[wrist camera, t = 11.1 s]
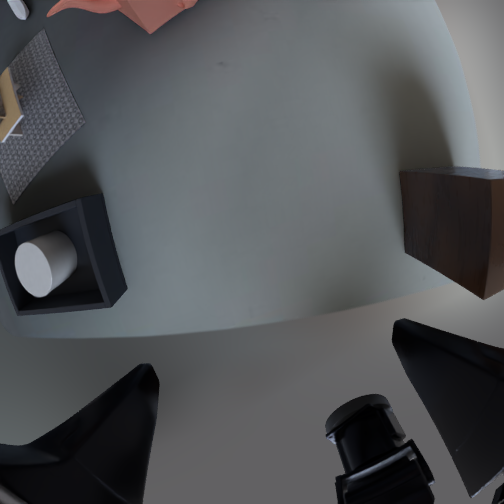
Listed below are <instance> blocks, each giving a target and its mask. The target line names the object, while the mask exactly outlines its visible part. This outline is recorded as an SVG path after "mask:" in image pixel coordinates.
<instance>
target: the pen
mask: <svg viewBox="0 0 504 504" xmlns="http://www.w3.org/2000/svg"><path fill="white" fill-rule="evenodd" d="M7 1H8V3H9V5H10V7H11V8H12V10H13V12H14V13H15V15H16V16H17V17H18V18H19V19H22V20H25V19H26V18H27V17H28V15H29V10H28V8H27V6H26V4H25V3H24V1H23V0H7Z"/></svg>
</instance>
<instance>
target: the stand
mask: <svg viewBox="0 0 504 504" xmlns="http://www.w3.org/2000/svg"><path fill="white" fill-rule="evenodd" d="M399 173H400V181H401V190H402V201H403V214H404V232H405V253H407V254H408V255H410V256H412V257H414V258H415V259H417V260H419V261H421V262H422V263H424V264H426V265H428V266H429V267H431V268H433V269H434V270H436V271H438V272H440V273H441V274H443V275H445V276H446V277H448V278H449V279H451V280H453V281H454V282H456V283H458V284H459V285H461V286H462V287H464V288H466V289H467V290H469V291H470V292H472V293H474V294H475V295H476V296H478V297H479V298H481V299H483V300H485V299H487V298H489V297H491V296H493V295H494V294H496V293H498V292H500V291H501V290H503V289H504V171H501V170H492V169H482V168H471V167H457V166H452V167H438V168H426V169H415V170H405V171H400V172H399Z"/></svg>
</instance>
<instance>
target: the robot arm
mask: <svg viewBox="0 0 504 504" xmlns="http://www.w3.org/2000/svg"><path fill="white" fill-rule="evenodd" d="M392 343H393V346H394V348H395V350H396V352H397V355H398V356H399V359H400V361H401V363H402V366H403V368H404V370H405V372H406V374H407V376H408V378H409V379H410V381H411V383H412V384H413V386H414V388H415V390H416V391H417V393H418V395H419V397H420V398H421V400H422V402H423V404H424V405H425V407H426V409H427V411H428V413H429V414H430V416H431V418H432V420H433V422H434V423H435V425H436V427H437V429H438V431H439V433H440V435H441V437H442V439H443V440H444V443H445V445H446V447H447V449H448V451H449V452H450V455H451V456H452V459H453V461H454V463H455V465H456V467H457V469H458V471H459V474H460V476H461V478H462V480H463V482H464V485H465V487H466V489H467V492H468V494H469V496H470V497H471V498H472V497H474V496H475V495H476V494H478V493H479V492H480V491H482V490H483V489H484V488H486V487H487V486H488V485H490V484H491V483H492V482H493V481H495V480H496V479H497V478H498V477H499V476H500V475H502V474H503V475H504V349H503V348H499V347H495V346H491V345H487V344H484V343H481V342H477V341H474V340H471V339H468V338H465V337H461V336H458V335H455V334H452V333H449V332H446V331H442V330H439V329H436V328H433V327H430V326H427V325H424V324H421V323H418V322H414V321H411V320H408V319H405V318H404V319H400V320H397V321H395V323H394V326H393V335H392ZM158 396H159V379H158V377H157V375H156V373H155V371H154V369H153V367H152V365H151V364H149V363H146V364H145V363H144V364H139V365H138V366H137V367H135V368H134V369H133V370H132V371H130V372H129V373H128V374H127V375H125V376H124V377H123V378H121V379H120V380H119V381H117V382H116V383H115V384H114V385H112V386H111V387H110V388H108V389H107V390H106V391H105V392H103V393H102V394H101V395H99V396H98V397H97V398H95V399H94V400H93V401H91V402H90V403H89V404H88V405H86V406H85V407H84V408H82V409H81V410H80V411H79V412H77V413H76V414H74V415H73V416H72V417H70V418H69V419H68V420H66V421H65V422H64V423H62V424H60V425H59V426H57V427H56V428H54V429H53V430H51V431H49V432H48V433H46V434H45V435H43V436H41V437H40V438H38V439H36V440H34V441H33V442H31V443H29V444H26V445H20V446H17V445H6V444H0V504H143V497H144V490H145V483H146V476H147V470H148V464H149V458H150V452H151V446H152V441H153V435H154V430H155V425H156V419H157V409H158V408H157V407H158ZM405 436H406V435H405V433H404V431H403V429H402V427H401V426H400V424H399V422H398V420H397V418H396V417H395V415H394V413H393V412H391V411H389V410H387V409H385V408H379V407H377V406H375V405H373V404H371V403H368V404H366V405H365V406H363V407H362V408H361V409H360V410H358V411H357V412H356V413H355V414H353V415H352V416H351V417H349V418H348V419H347V420H345V421H344V422H343V423H341V424H340V425H339V426H337V427H336V428H334V429H333V430H332V431H330V432H329V433H327V434H326V439H328V440H331V441H334V442H336V445H337V449H338V452H339V455H340V458H341V461H342V464H343V467H344V470H345V473H346V474H343V475H339V476H337V477H336V483H335V486H336V492H337V499H338V504H434V495H433V493H432V491H431V489H430V485H432V484H434V483H435V480H434V477H433V475H432V472H431V470H430V468H429V466H428V465H427V463H426V461H425V459H424V458H423V456H422V454H421V453H420V451H419V449H418V448H417V446H416V444H415V443H414V441H413V440H412V439H410V440H409V441H408V442H407V443H404V441H403V439H404V438H405ZM412 458H414V459H413V460H411V461H410V459H412ZM492 504H504V483H503V484H502V485H501V486H500V487H499V488H498V489H496V491H495V495H494V498H493V501H492Z"/></svg>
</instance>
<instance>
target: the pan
mask: <svg viewBox="0 0 504 504" xmlns="http://www.w3.org/2000/svg"><path fill="white" fill-rule="evenodd" d="M51 231H60V232H63V233H64V234H65V235H67V236H68V237H69V238H70V240H71V241H72V243H73V245H74V247H75V250H76V254H77V267H76V270H75V272H74V274H73V275H72V276H71V277H70V278H68V279H67V280H66V281H64V282H63V283H62V284H60V285H59V286H58V287H56V288H55V289H54V290H52V291H51V292H50V293H48V294H47V295H46V296H43V297H36V296H33V295H32V294H30V293H29V292H28V291H27V290H26V289H25V288H24V287H23V285H22V284H21V282H20V280H19V278H18V275H17V272H16V268H15V255H16V251H17V249H18V247H19V246H20V245H21V244H22V243H24V242H27V241H29V240H31V239H34V238H36V237H38V236H41V235H43V234H46V233H48V232H51ZM0 270H1V273H2V276H3V279H4V282H5V285H6V288H7V290H8V293H9V296H10V298H11V301H12V304H13V306H14V309H15V311H16V313H17V316H23V315H37V314H49V313H61V312H72V311H82V310H92V309H102V308H111V307H112V306H113V305H114V304H115V303H116V302H117V300H118V299H119V298H120V297H121V296H122V295H123V294H124V292H125V291H126V290H127V286H126V283H125V279H124V276H123V273H122V269H121V266H120V263H119V259H118V256H117V252H116V248H115V245H114V241H113V237H112V233H111V229H110V224H109V220H108V216H107V211H106V207H105V202H104V197H103V193H101V194H96V195H92V196H87V197H82V198H79V199H76V200H73V201H70V202H67V203H64V204H61V205H59V206H56V207H53V208H51V209H48V210H45V211H43V212H40V213H38V214H35V215H33V216H30V217H28V218H25V219H23V220H21V221H18V222H16V223H14V224H11V225H9V226H7V227H5V228H3V229H0Z"/></svg>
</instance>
